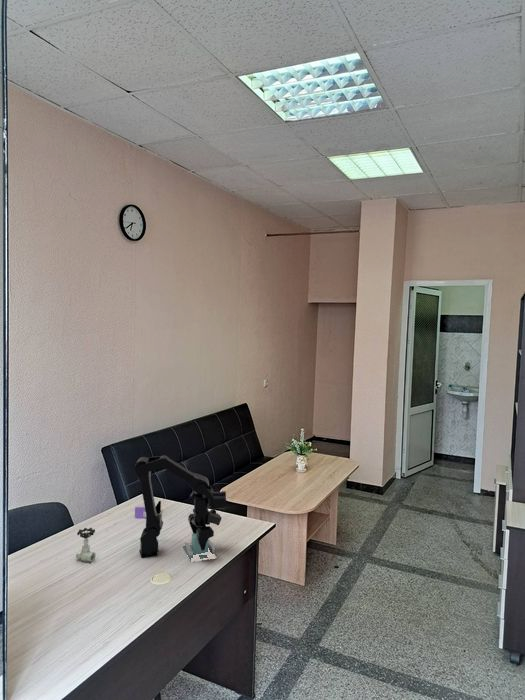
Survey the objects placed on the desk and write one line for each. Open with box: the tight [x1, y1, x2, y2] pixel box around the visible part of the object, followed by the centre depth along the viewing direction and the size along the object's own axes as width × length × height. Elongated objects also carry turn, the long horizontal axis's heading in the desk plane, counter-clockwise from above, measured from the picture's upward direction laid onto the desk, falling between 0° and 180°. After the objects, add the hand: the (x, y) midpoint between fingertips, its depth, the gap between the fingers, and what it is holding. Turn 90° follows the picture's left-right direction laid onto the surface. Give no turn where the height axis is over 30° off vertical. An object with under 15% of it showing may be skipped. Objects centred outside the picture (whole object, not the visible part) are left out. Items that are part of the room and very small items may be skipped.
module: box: [191, 533, 210, 555], centre depth 195 cm, size 6×4×7 cm
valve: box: [75, 527, 97, 563], centre depth 186 cm, size 7×7×12 cm
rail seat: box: [182, 539, 216, 562], centre depth 195 cm, size 11×14×3 cm
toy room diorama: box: [134, 500, 162, 520], centre depth 230 cm, size 12×12×7 cm
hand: (199, 545), depth 195 cm, fingers open, 9 cm apart
